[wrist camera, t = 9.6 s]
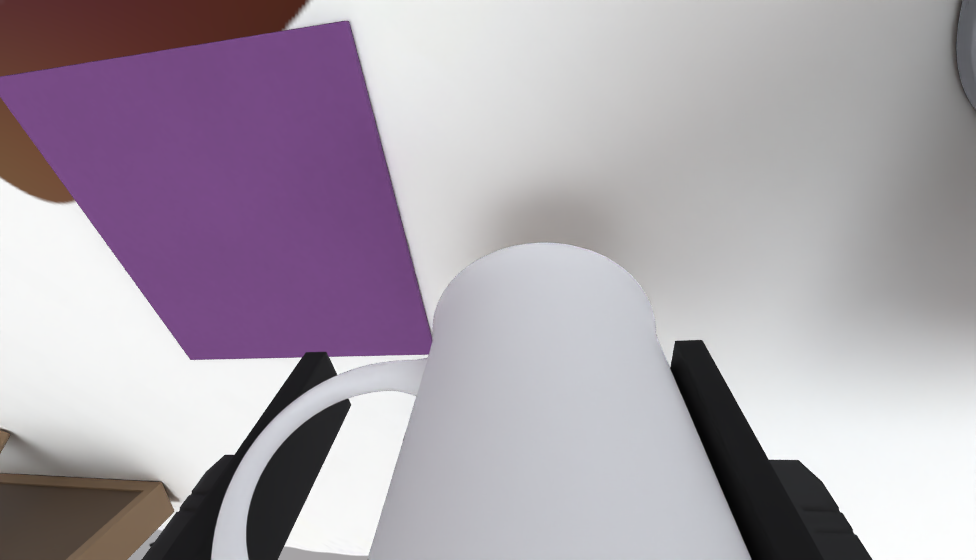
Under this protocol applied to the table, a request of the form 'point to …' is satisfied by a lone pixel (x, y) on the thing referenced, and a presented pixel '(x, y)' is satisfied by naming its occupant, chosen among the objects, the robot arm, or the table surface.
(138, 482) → the photo frame
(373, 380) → the mug
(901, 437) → the table surface
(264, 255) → the cloth
